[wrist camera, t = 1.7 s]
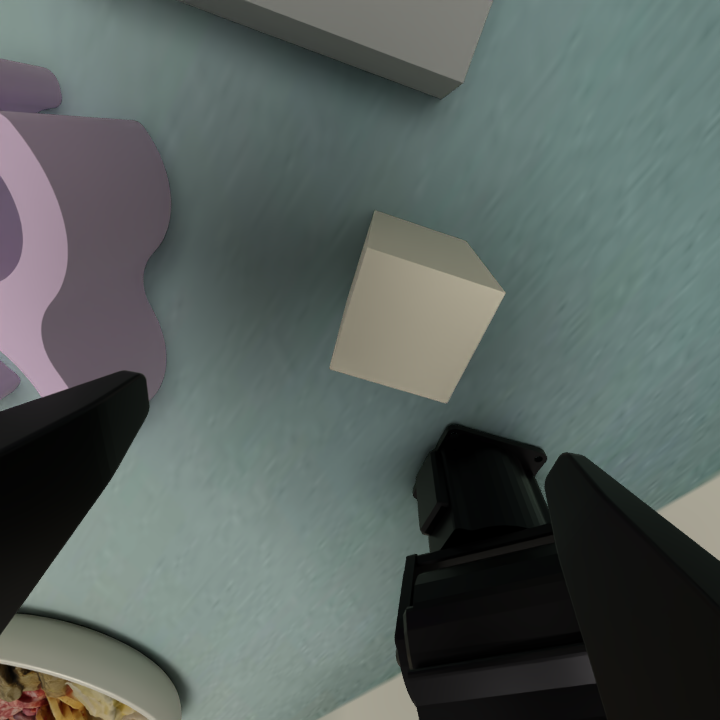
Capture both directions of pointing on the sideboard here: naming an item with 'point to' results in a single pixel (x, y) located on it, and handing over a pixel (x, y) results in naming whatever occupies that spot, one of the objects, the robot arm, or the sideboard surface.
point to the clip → (75, 240)
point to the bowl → (78, 675)
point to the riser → (373, 34)
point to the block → (414, 309)
